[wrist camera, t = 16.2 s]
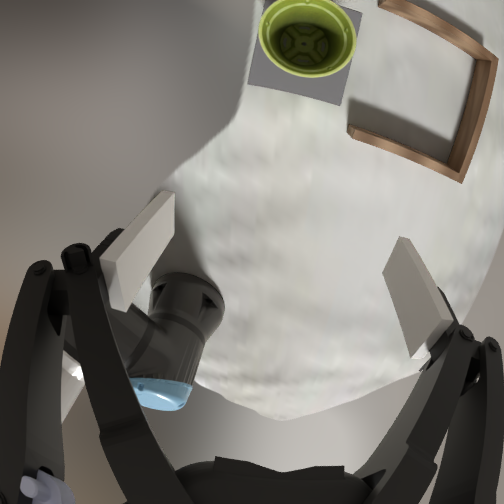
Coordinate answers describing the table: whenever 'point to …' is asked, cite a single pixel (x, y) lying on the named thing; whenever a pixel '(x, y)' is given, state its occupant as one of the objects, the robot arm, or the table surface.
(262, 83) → the charcoal mat
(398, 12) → the walnut bay
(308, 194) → the table surface
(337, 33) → the plant pot
